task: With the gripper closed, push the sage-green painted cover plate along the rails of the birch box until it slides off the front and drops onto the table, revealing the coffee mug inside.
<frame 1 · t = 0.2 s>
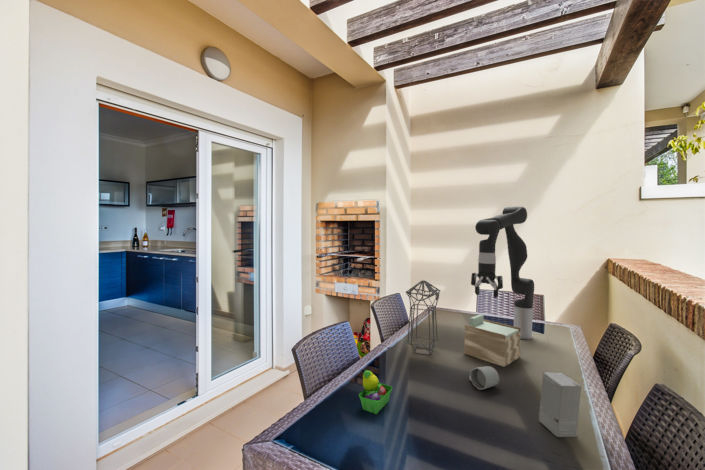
hand: (486, 296, 149), 29 cm above the table, fingers open, 8 cm apart
fruit basket: (374, 405, 107), on the table
ceramic mug: (481, 385, 122), on the table
coffee mug: (491, 355, 151), resting in birch box
skincare box: (558, 429, 95), on the table
cover plate: (492, 330, 151), point 12 cm above the table, touching birch box
geometric lantern: (422, 350, 156), on the table
birch box: (491, 355, 151), on the table
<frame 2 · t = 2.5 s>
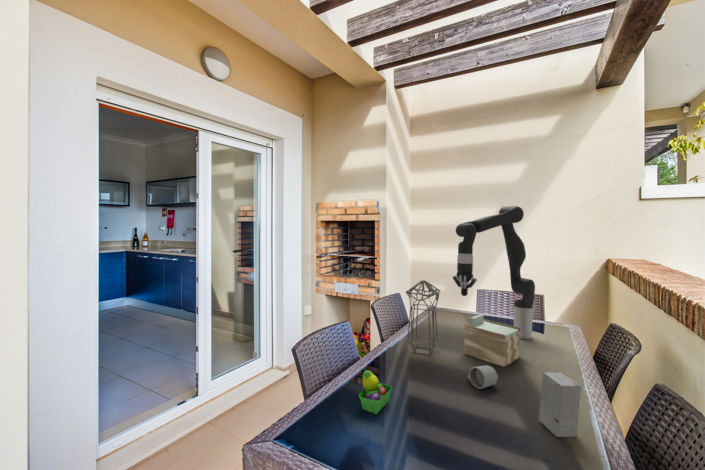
hand: (464, 295, 162), 26 cm above the table, fingers closed
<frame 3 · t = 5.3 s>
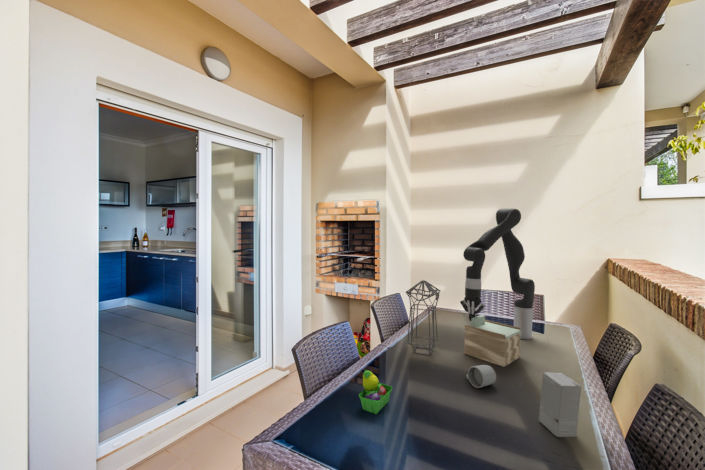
hand: (471, 321, 158), 14 cm above the table, fingers closed
cover plate: (493, 330, 150), point 12 cm above the table, touching birch box, gripper
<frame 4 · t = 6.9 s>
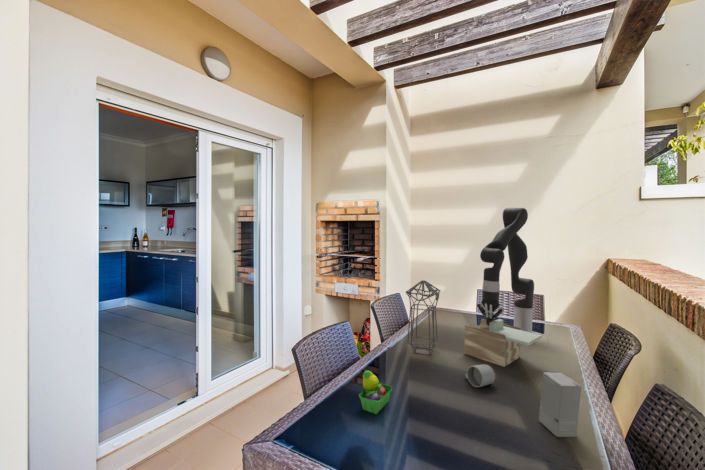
hand: (489, 325, 151), 14 cm above the table, fingers closed
cover plate: (513, 336, 143), point 12 cm above the table, touching gripper
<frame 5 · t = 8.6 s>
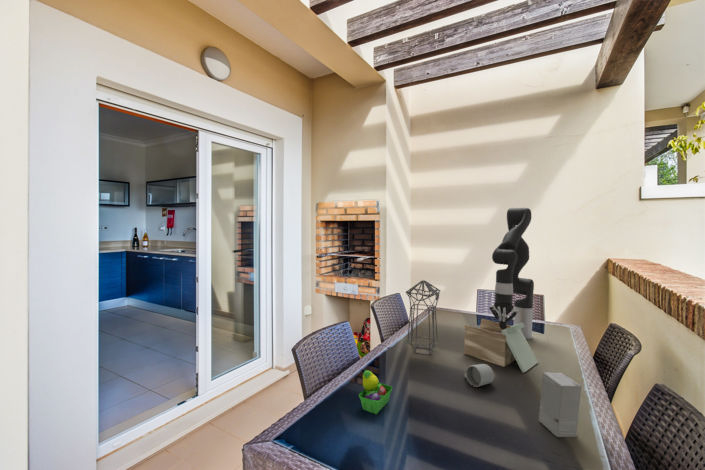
hand: (503, 328, 147), 14 cm above the table, fingers closed
cover plate: (518, 347, 141), point 8 cm above the table, tilted 59°
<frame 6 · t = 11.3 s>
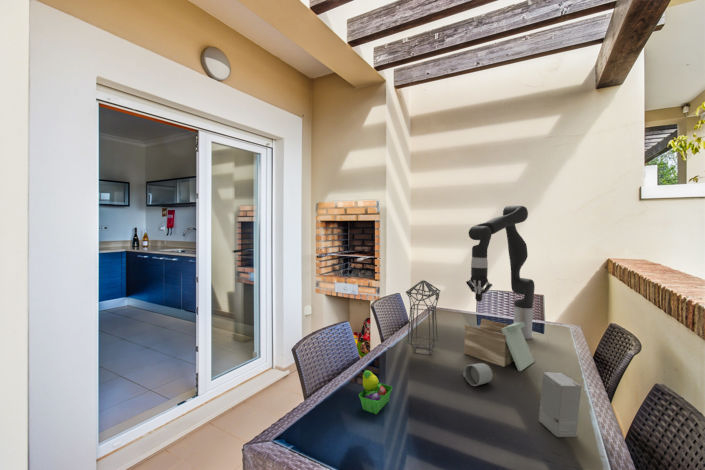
hand: (478, 301, 155), 25 cm above the table, fingers closed
cover plate: (516, 345, 142), point 8 cm above the table, tilted 65°, touching birch box
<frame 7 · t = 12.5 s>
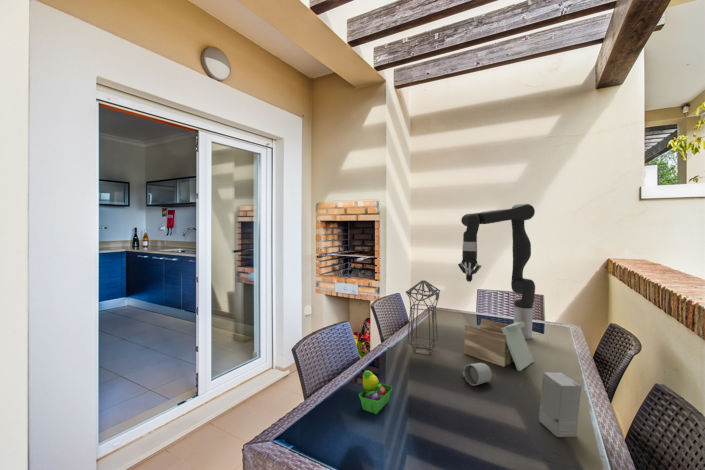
hand: (469, 281, 172), 32 cm above the table, fingers closed
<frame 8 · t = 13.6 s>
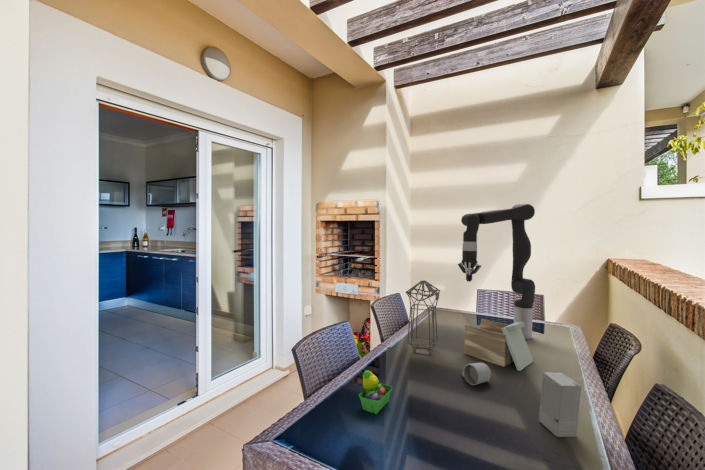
hand: (468, 281, 172), 32 cm above the table, fingers closed
at the end: cover plate moved 11.8 cm from its start; cover plate point 8.2 cm above the table; cover plate inside the target area (11.4 cm from its centre), point 8.2 cm above the table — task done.
